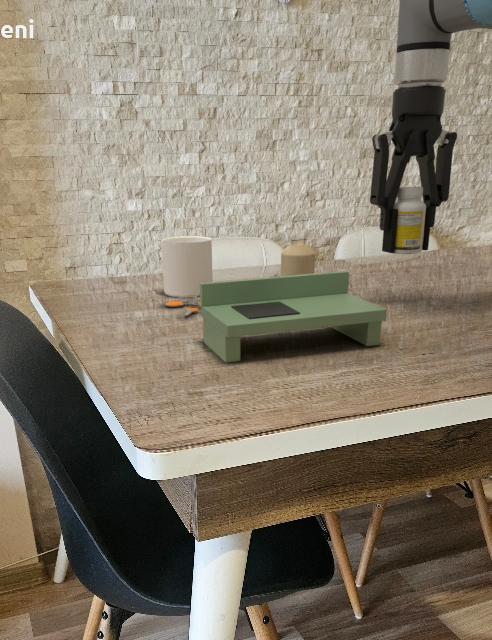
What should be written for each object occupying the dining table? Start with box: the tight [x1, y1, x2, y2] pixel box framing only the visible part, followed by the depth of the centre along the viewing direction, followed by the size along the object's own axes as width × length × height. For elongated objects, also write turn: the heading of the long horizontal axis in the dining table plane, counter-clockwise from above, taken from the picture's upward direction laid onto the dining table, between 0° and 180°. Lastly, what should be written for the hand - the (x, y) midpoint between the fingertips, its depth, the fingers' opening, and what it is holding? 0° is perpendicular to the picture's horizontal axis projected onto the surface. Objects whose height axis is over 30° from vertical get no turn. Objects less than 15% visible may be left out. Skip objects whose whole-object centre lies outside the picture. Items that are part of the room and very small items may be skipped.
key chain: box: [164, 296, 201, 317], centre depth 111 cm, size 13×7×1 cm, turn 21°
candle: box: [280, 241, 316, 276], centre depth 110 cm, size 6×6×10 cm
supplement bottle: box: [392, 186, 426, 255], centre depth 107 cm, size 5×5×10 cm
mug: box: [160, 235, 214, 298], centre depth 122 cm, size 12×9×9 cm
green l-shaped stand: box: [199, 270, 388, 364], centre depth 90 cm, size 12×22×8 cm, turn 108°
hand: (404, 250), depth 109 cm, fingers closed on supplement bottle, 5 cm apart
